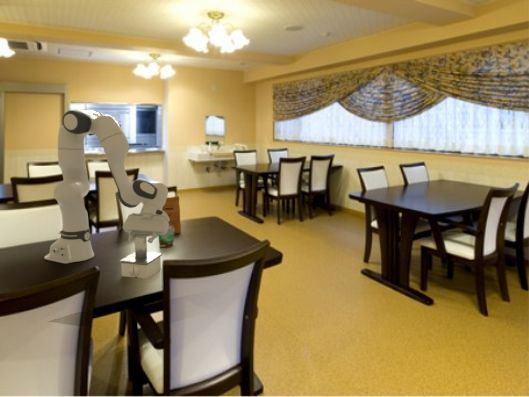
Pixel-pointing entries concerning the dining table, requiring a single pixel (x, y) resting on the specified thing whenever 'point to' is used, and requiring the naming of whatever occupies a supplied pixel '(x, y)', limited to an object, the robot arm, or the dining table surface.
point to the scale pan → (144, 261)
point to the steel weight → (140, 247)
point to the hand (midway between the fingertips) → (139, 241)
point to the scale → (141, 269)
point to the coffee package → (173, 213)
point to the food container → (167, 238)
